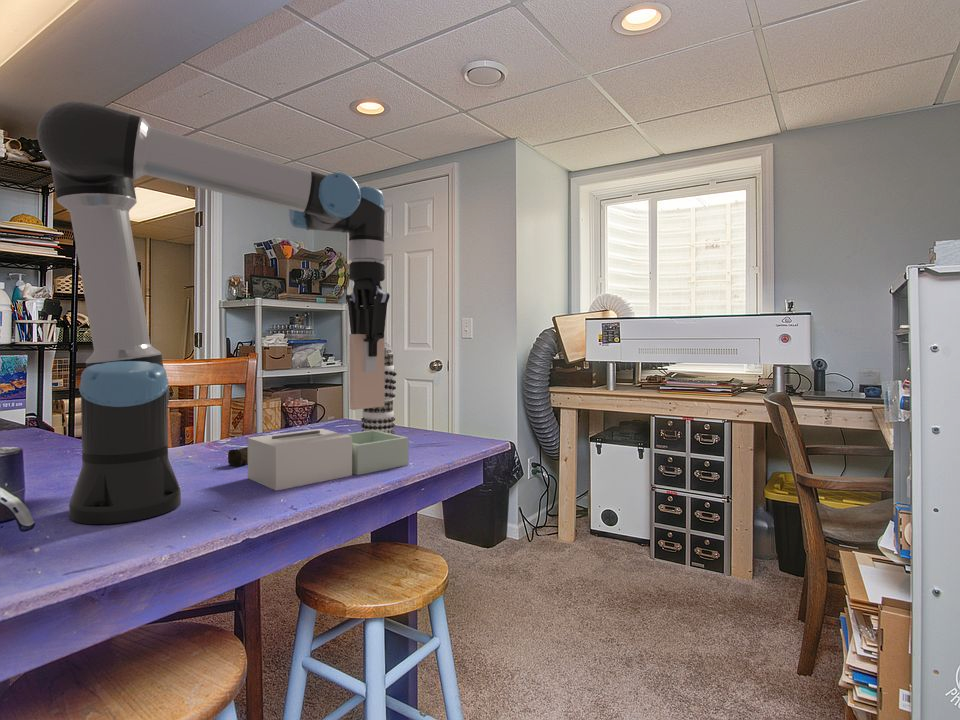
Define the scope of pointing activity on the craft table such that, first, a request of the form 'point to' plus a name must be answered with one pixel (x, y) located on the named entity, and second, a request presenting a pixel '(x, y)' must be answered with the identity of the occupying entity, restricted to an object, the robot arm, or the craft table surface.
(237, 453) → the hand tool
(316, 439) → the dispenser
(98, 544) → the craft table surface
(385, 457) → the bin
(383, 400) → the ticket
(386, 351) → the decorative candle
